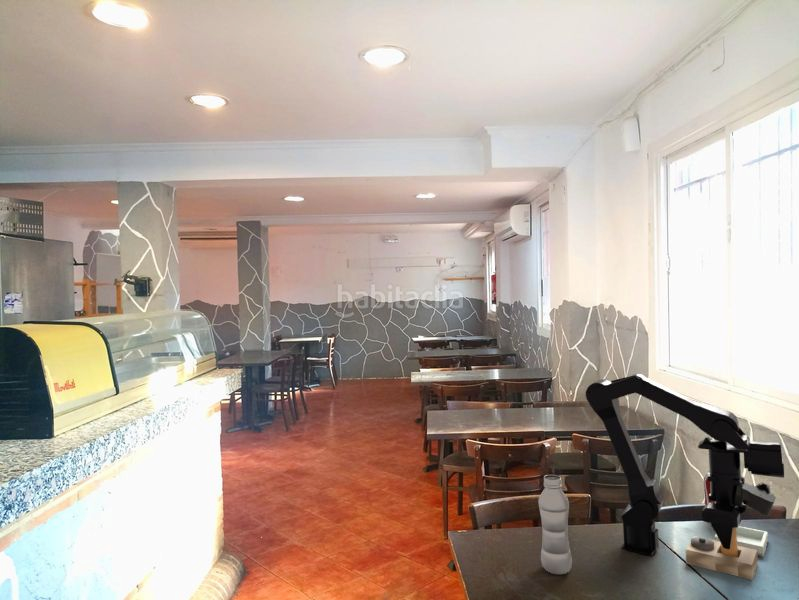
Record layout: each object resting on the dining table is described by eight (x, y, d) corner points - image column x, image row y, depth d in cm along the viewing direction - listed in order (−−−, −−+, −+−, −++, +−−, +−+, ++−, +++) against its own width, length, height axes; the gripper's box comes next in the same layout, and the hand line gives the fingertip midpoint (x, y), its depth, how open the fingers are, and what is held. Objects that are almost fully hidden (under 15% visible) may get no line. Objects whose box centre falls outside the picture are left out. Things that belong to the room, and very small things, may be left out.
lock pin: (718, 566, 111) (715, 520, 111) (721, 559, 114) (718, 514, 114) (739, 572, 109) (736, 524, 109) (741, 564, 112) (739, 518, 112)
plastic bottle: (572, 565, 115) (568, 473, 115) (572, 580, 108) (567, 483, 108) (542, 561, 117) (538, 471, 117) (540, 577, 110) (535, 481, 111)
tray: (715, 545, 121) (714, 536, 121) (722, 531, 128) (721, 522, 128) (763, 556, 115) (763, 546, 115) (768, 541, 122) (767, 531, 122)
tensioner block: (686, 563, 113) (685, 542, 113) (694, 549, 119) (693, 529, 119) (752, 580, 106) (751, 558, 106) (757, 564, 112) (756, 543, 112)
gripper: (765, 490, 100) (770, 573, 99) (775, 465, 114) (779, 537, 114) (699, 480, 107) (703, 557, 106) (716, 457, 121) (719, 525, 121)
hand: (728, 544), depth 112 cm, fingers open, 5 cm apart
